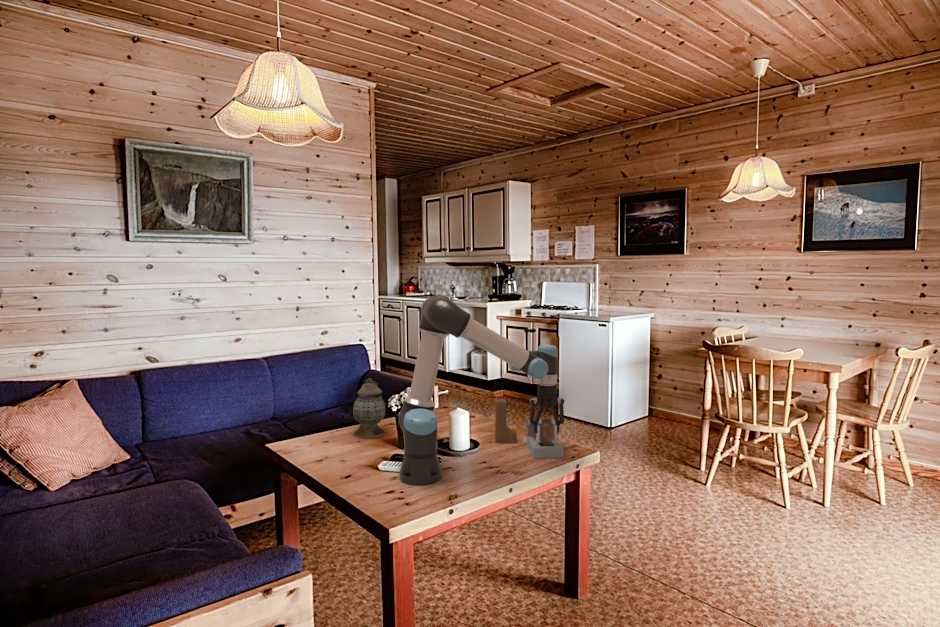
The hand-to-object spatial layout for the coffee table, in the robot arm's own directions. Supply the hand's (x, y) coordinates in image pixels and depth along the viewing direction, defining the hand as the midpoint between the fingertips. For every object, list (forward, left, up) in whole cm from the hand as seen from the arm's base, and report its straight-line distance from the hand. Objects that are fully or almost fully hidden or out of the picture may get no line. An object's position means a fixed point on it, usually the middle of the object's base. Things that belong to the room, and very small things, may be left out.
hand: (546, 440), depth 228 cm
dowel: (0, 0, -5) cm, 5 cm away
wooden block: (-14, +16, -6) cm, 22 cm away
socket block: (0, +3, -5) cm, 6 cm away
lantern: (-73, +31, -6) cm, 80 cm away
